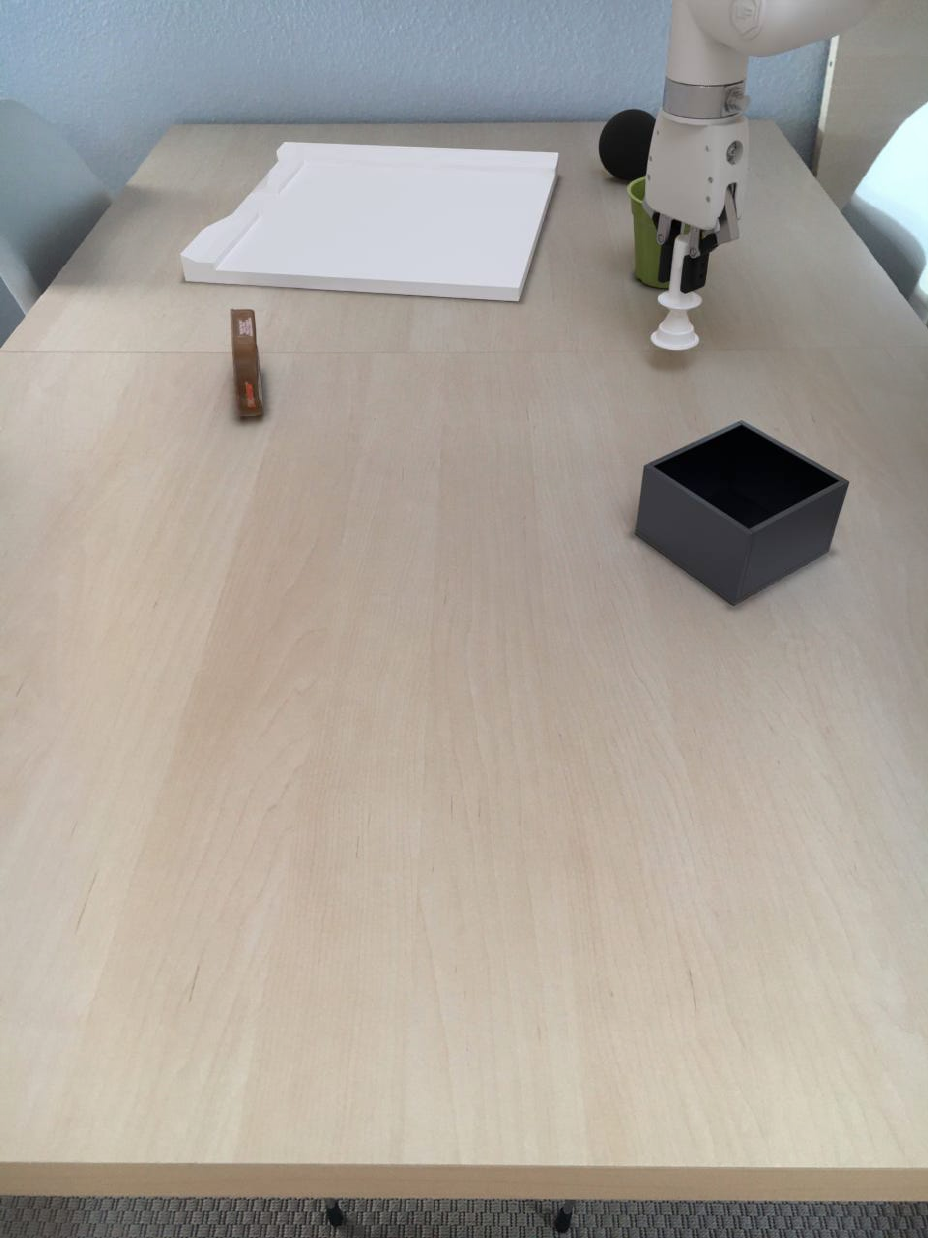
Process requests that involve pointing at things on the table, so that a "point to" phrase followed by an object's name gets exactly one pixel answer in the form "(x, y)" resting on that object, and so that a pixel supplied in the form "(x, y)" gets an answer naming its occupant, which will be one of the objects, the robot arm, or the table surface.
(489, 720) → the table surface
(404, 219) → the tray
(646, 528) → the bin
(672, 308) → the candle
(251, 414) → the brown thin box
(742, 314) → the table surface
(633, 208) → the plant pot
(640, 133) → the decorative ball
